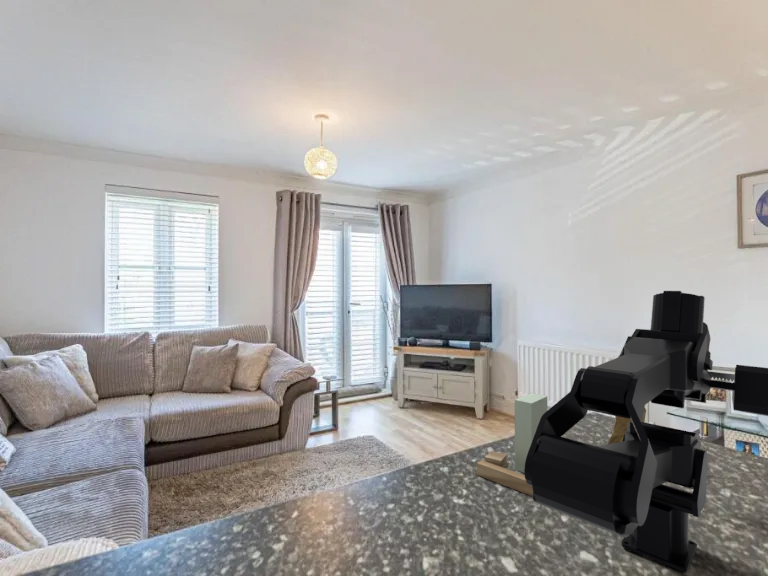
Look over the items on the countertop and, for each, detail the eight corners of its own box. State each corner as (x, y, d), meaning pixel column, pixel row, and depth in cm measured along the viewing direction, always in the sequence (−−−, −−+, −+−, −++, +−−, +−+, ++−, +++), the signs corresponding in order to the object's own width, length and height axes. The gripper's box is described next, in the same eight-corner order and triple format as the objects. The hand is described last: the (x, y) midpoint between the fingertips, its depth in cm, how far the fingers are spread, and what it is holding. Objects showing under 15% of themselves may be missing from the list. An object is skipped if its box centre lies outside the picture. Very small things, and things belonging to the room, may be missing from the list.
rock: (623, 460, 69) (671, 446, 71) (595, 411, 73) (641, 399, 76) (590, 475, 77) (634, 462, 80) (567, 430, 82) (609, 419, 84)
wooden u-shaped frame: (549, 502, 60) (549, 488, 60) (476, 474, 69) (476, 462, 69) (594, 463, 73) (594, 452, 73) (529, 444, 82) (529, 434, 82)
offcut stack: (498, 476, 68) (498, 462, 68) (480, 469, 71) (480, 455, 70) (509, 469, 71) (509, 455, 71) (492, 463, 73) (492, 449, 73)
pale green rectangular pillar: (531, 475, 68) (531, 403, 68) (514, 469, 71) (514, 399, 70) (547, 464, 73) (547, 396, 72) (531, 459, 75) (531, 393, 75)
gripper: (773, 320, 51) (778, 344, 62) (609, 313, 65) (636, 334, 75) (770, 412, 49) (777, 420, 59) (601, 385, 62) (631, 396, 73)
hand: (698, 387), depth 67 cm, fingers open, 9 cm apart
